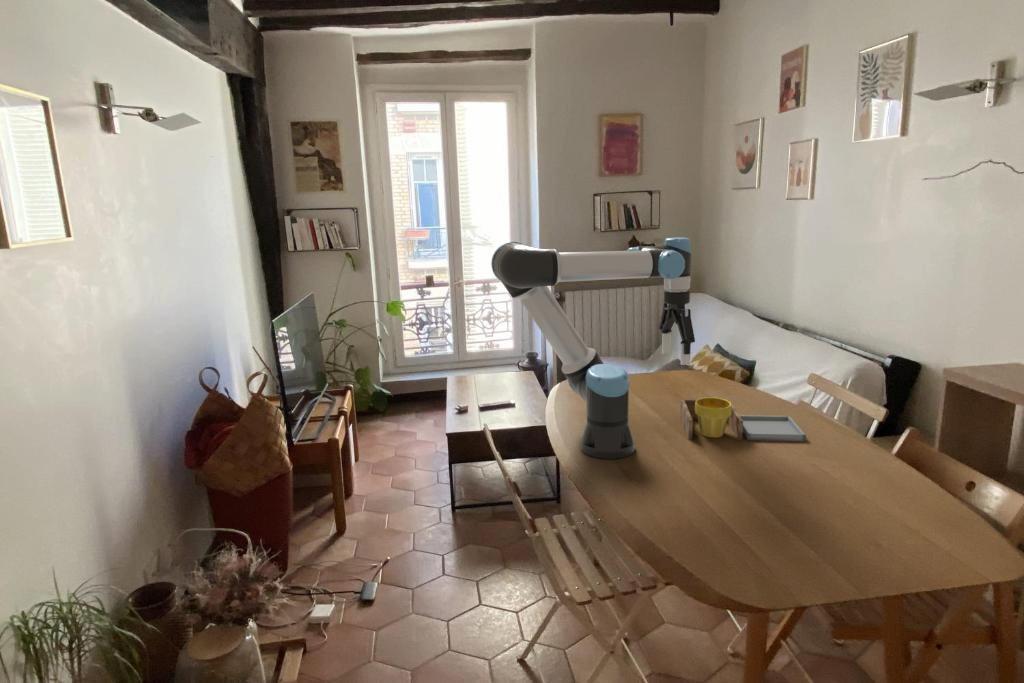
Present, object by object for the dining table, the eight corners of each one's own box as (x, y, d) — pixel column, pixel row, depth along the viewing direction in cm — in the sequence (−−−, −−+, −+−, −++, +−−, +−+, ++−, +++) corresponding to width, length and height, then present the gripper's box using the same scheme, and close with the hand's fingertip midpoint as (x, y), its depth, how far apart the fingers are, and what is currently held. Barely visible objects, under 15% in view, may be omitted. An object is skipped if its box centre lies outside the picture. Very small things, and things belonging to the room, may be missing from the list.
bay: (742, 440, 178) (743, 420, 177) (688, 439, 181) (689, 420, 179) (728, 417, 197) (729, 399, 195) (680, 416, 199) (680, 399, 198)
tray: (805, 441, 176) (805, 434, 176) (748, 440, 178) (748, 433, 178) (788, 421, 191) (789, 415, 191) (736, 421, 193) (736, 415, 193)
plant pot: (732, 441, 178) (734, 408, 176) (695, 439, 180) (696, 407, 178) (728, 428, 188) (729, 397, 186) (692, 426, 190) (693, 396, 188)
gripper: (708, 295, 173) (706, 368, 178) (671, 283, 197) (670, 348, 202) (683, 296, 172) (681, 370, 177) (649, 285, 196) (648, 350, 201)
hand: (675, 358), depth 189 cm, fingers open, 13 cm apart
